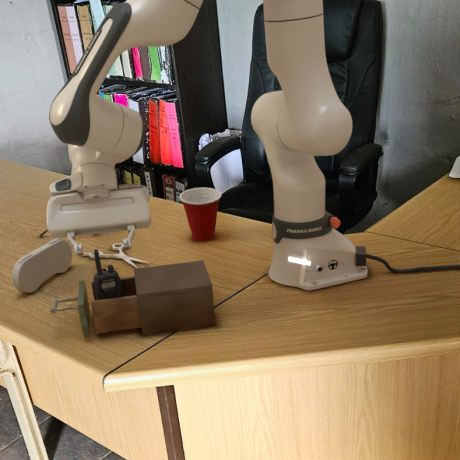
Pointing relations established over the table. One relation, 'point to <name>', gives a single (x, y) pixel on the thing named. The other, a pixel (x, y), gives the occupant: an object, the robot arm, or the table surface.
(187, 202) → the plastic cup
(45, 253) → the game controller
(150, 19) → the robot arm
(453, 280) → the table surface
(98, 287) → the two-way radio
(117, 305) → the drawer
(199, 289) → the cabinet
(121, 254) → the scissors
